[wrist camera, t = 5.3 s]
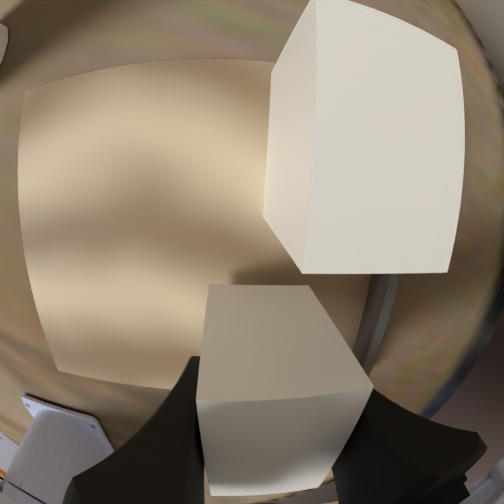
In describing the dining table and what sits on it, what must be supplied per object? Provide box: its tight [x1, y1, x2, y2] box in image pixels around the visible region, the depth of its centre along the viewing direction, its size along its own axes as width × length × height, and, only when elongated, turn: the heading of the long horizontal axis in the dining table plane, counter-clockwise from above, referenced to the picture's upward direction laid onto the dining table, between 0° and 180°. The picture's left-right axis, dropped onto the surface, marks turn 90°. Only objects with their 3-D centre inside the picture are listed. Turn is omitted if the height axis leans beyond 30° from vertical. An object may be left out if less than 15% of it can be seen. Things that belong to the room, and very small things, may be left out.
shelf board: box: [18, 59, 401, 389], centre depth 11 cm, size 16×18×2 cm
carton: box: [196, 284, 374, 496], centre depth 9 cm, size 4×6×6 cm
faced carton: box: [263, 0, 465, 274], centre depth 7 cm, size 4×6×6 cm
